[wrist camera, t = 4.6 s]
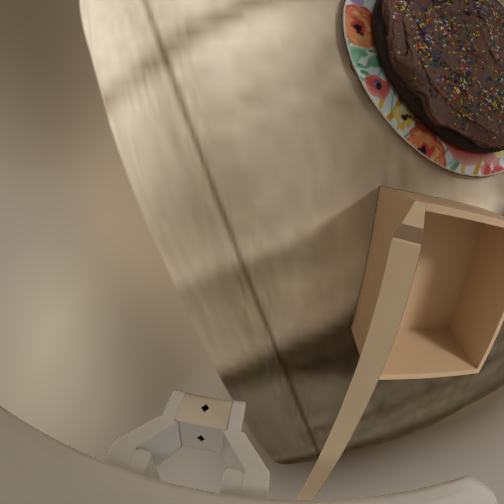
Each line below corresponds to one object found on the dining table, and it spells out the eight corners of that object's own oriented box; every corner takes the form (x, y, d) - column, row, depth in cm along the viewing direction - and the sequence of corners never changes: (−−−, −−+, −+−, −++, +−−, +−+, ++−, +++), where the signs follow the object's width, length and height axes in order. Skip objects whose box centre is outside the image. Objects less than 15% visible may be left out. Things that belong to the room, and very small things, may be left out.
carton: (482, 208, 26) (531, 228, 17) (447, 330, 31) (478, 372, 23) (379, 186, 27) (416, 200, 18) (350, 327, 32) (367, 379, 24)
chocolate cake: (283, 20, 23) (282, -10, 17) (431, -55, 15) (449, -76, 9) (449, 225, 28) (481, 242, 21) (552, 109, 20) (582, 109, 14)
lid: (422, 246, 6) (390, 238, 7) (303, 514, 12) (290, 508, 12) (426, 203, 18) (414, 200, 18) (372, 385, 23) (364, 382, 23)
